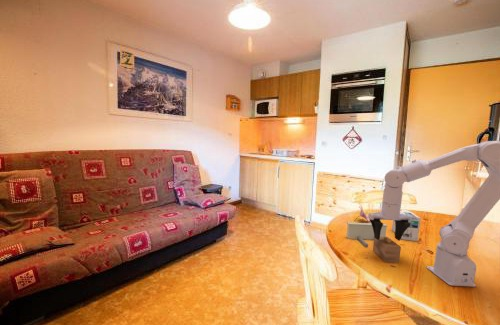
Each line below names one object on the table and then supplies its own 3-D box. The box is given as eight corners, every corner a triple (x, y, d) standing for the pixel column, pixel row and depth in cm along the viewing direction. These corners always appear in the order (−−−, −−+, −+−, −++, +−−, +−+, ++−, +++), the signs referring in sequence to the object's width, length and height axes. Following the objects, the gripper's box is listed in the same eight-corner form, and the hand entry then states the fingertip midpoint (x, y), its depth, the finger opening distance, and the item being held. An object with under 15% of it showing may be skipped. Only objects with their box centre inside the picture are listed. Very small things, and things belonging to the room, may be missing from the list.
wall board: (396, 248, 90) (398, 232, 89) (355, 246, 90) (356, 230, 89) (383, 238, 99) (384, 223, 98) (345, 236, 99) (347, 222, 98)
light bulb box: (418, 241, 97) (421, 217, 96) (400, 239, 98) (404, 215, 97) (406, 231, 107) (409, 209, 106) (390, 229, 109) (393, 208, 107)
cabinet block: (398, 263, 79) (401, 244, 79) (384, 262, 79) (387, 243, 79) (385, 251, 87) (387, 234, 87) (372, 250, 87) (374, 233, 87)
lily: (362, 230, 109) (375, 214, 107) (343, 214, 117) (354, 199, 115) (370, 231, 118) (381, 217, 116) (351, 216, 126) (361, 202, 124)
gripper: (404, 200, 85) (399, 234, 87) (365, 198, 85) (362, 233, 87) (417, 206, 78) (412, 243, 80) (376, 204, 78) (371, 241, 80)
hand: (387, 238), depth 83 cm, fingers open, 7 cm apart
